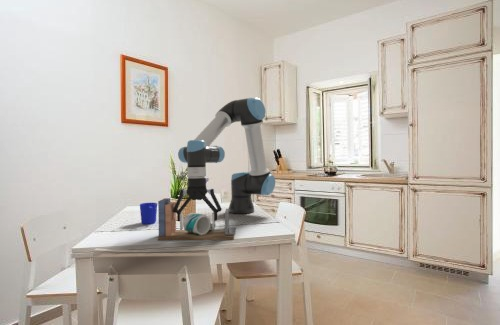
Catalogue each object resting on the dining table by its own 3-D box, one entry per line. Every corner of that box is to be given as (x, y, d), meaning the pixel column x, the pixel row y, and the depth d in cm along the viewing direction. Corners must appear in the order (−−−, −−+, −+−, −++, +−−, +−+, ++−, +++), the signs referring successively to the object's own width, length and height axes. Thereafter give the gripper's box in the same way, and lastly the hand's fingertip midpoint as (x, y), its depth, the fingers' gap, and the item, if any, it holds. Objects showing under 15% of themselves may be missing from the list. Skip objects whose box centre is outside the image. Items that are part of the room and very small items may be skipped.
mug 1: (142, 227, 136) (141, 206, 136) (139, 223, 146) (138, 203, 146) (160, 225, 139) (159, 205, 139) (155, 221, 150) (155, 202, 150)
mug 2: (185, 211, 121) (198, 213, 115) (207, 215, 129) (219, 218, 124) (180, 230, 119) (193, 234, 113) (202, 234, 127) (215, 237, 122)
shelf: (166, 232, 126) (165, 197, 126) (234, 231, 126) (234, 197, 126) (157, 240, 114) (157, 201, 114) (233, 239, 114) (233, 201, 114)
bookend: (226, 229, 125) (226, 208, 125) (235, 229, 125) (235, 208, 125) (225, 234, 116) (224, 212, 116) (235, 234, 116) (234, 212, 116)
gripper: (164, 178, 116) (165, 231, 116) (225, 177, 116) (226, 230, 117) (169, 177, 124) (170, 227, 124) (227, 176, 124) (228, 226, 124)
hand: (197, 228), depth 120 cm, fingers open, 13 cm apart
